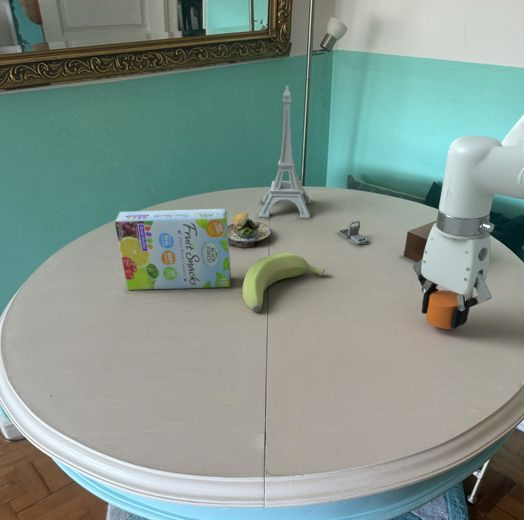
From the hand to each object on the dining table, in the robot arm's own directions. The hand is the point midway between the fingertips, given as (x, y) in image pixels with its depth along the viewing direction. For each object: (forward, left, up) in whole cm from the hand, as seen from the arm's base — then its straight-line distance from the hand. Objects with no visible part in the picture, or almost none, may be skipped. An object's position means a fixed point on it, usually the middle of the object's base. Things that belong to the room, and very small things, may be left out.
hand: (442, 317), depth 92 cm
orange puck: (0, 0, -1) cm, 1 cm away
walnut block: (+18, -22, -2) cm, 29 cm away
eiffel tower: (+62, -14, -2) cm, 64 cm away
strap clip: (+37, -15, -2) cm, 40 cm away
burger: (+53, +5, -2) cm, 54 cm away
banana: (+28, +13, -2) cm, 32 cm away
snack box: (+43, +29, -2) cm, 53 cm away
